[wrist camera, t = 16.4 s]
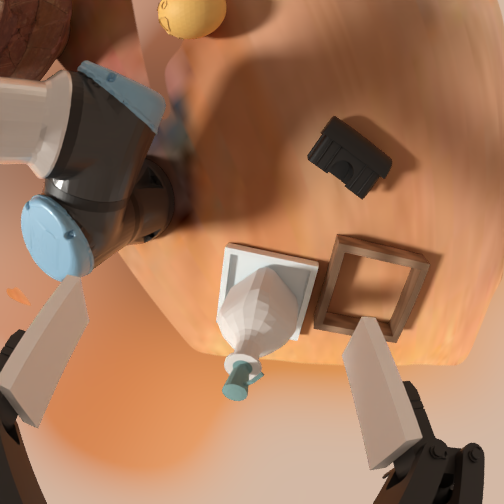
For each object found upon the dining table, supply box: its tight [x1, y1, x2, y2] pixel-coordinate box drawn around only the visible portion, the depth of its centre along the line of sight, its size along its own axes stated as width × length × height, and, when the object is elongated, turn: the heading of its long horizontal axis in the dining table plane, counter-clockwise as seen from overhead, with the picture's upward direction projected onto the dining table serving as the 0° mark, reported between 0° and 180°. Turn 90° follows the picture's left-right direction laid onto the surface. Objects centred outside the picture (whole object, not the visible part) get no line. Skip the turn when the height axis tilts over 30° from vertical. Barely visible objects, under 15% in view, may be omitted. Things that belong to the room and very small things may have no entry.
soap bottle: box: [217, 267, 298, 401], centre depth 42 cm, size 10×10×23 cm
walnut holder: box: [314, 234, 430, 343], centre depth 47 cm, size 15×15×4 cm
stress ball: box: [157, 0, 227, 40], centre depth 32 cm, size 10×10×10 cm
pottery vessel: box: [0, 0, 72, 81], centre depth 27 cm, size 26×26×30 cm
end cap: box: [307, 116, 392, 200], centre depth 39 cm, size 10×7×7 cm
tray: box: [216, 243, 319, 341], centre depth 52 cm, size 15×15×2 cm
